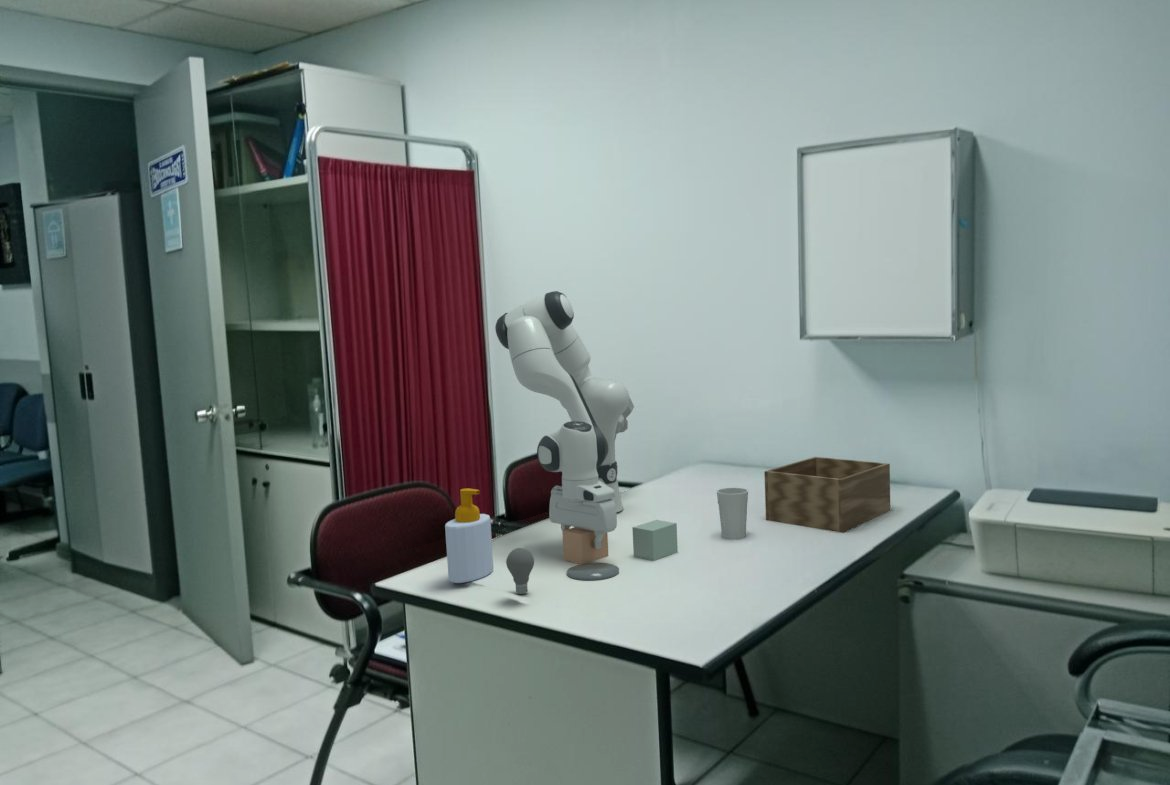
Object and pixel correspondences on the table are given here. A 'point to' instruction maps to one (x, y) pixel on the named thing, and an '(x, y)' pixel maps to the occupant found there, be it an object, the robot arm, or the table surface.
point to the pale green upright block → (655, 539)
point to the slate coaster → (592, 571)
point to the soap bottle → (468, 542)
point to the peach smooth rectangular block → (582, 545)
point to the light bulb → (520, 568)
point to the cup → (733, 512)
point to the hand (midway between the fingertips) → (583, 545)
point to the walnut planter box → (827, 493)
